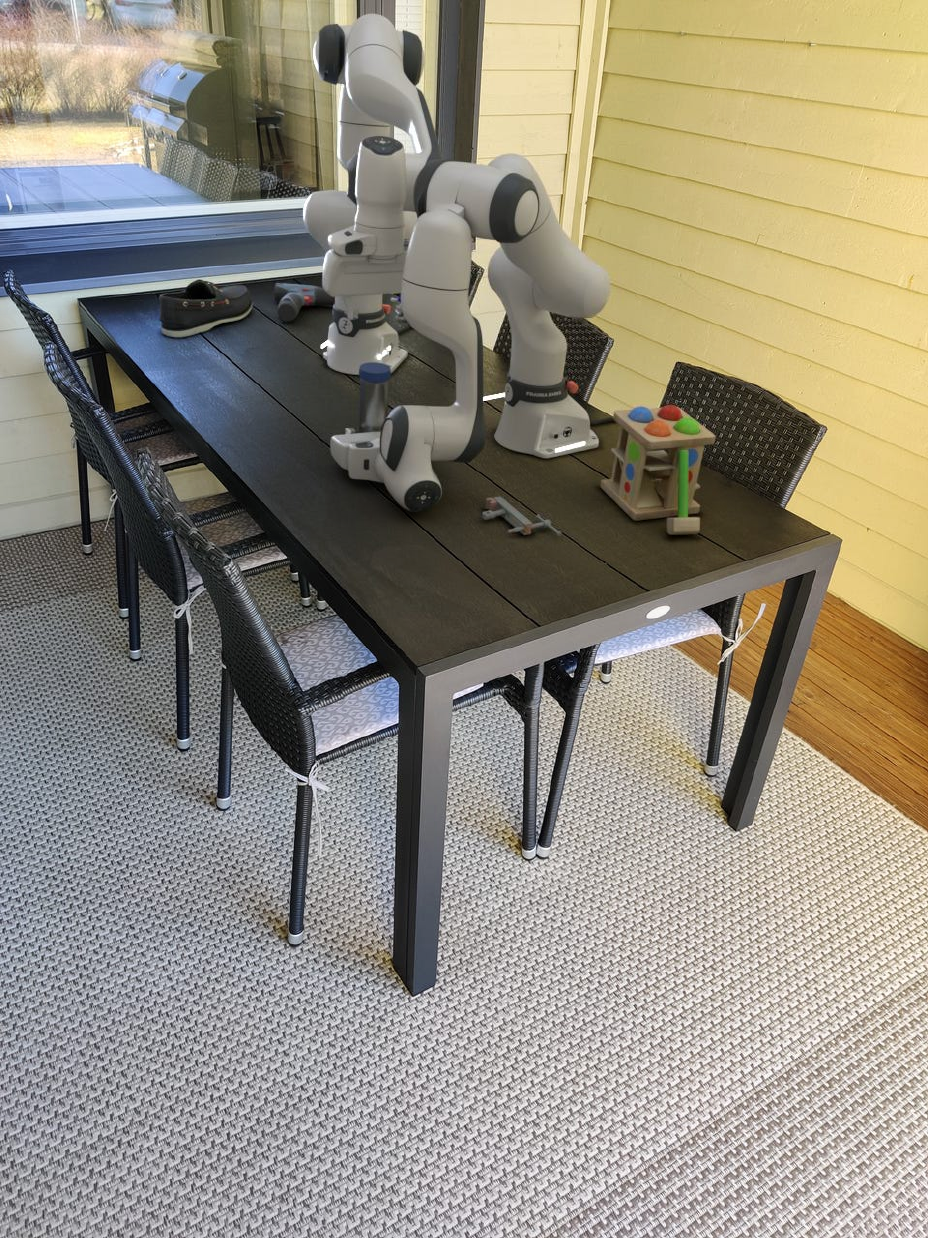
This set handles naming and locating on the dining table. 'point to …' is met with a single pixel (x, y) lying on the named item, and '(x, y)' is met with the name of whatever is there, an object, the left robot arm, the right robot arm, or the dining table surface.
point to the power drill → (299, 298)
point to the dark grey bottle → (373, 406)
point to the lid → (375, 372)
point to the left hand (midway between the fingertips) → (376, 317)
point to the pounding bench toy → (658, 466)
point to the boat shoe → (202, 307)
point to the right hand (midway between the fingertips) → (371, 429)
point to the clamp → (513, 516)
